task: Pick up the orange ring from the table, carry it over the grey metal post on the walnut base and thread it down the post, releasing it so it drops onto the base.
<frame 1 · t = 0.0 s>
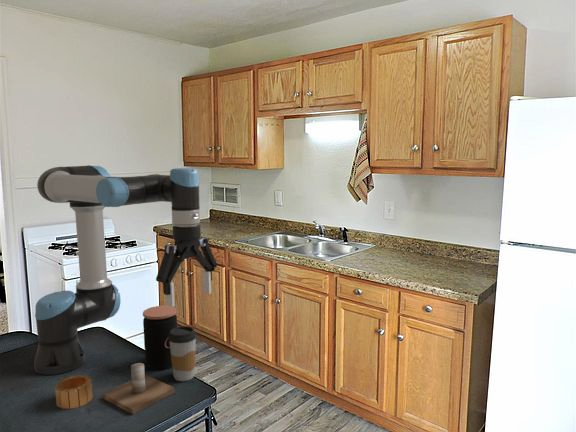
hand: (189, 299, 130), 28 cm above the table, fingers open, 13 cm apart
post block: (139, 395, 132), on the table
coffee cup: (184, 377, 143), on the table
coffee jar: (162, 363, 152), on the table
orange ring: (74, 399, 130), on the table
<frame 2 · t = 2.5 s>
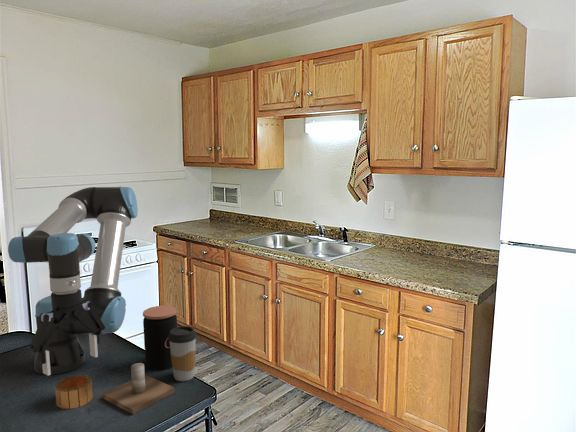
hand: (71, 364, 128), 11 cm above the table, fingers open, 13 cm apart
nothing on the table moved.
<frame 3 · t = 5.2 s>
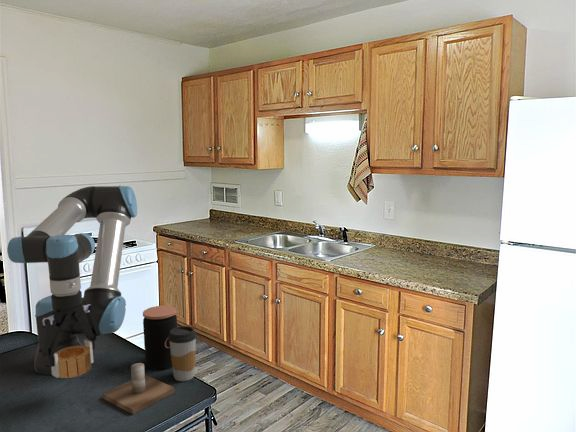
hand: (73, 368, 129), 9 cm above the table, fingers closed on orange ring, 9 cm apart
orange ring: (73, 369, 129), point 9 cm above the table, touching gripper
everything else where it was.
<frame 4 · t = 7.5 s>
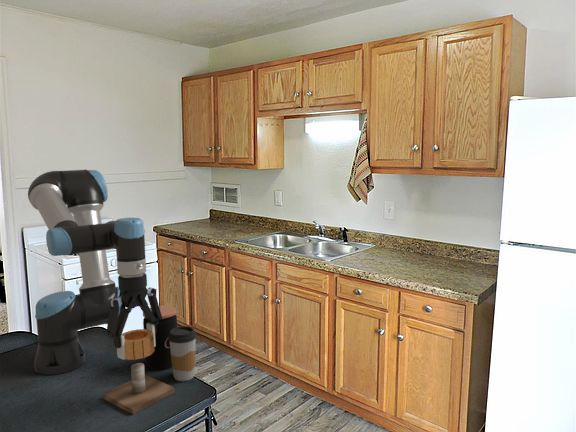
hand: (137, 351, 130), 13 cm above the table, fingers closed on orange ring, 9 cm apart
orange ring: (137, 352, 130), point 13 cm above the table, touching gripper
everything else where it was.
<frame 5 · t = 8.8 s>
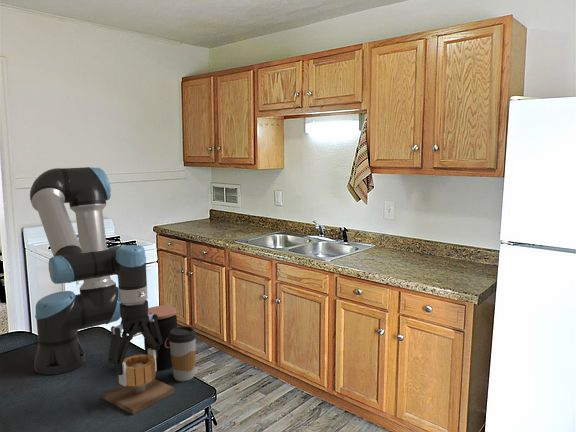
hand: (138, 377, 131), 6 cm above the table, fingers closed on orange ring, 9 cm apart
orange ring: (138, 378, 131), point 5 cm above the table, touching gripper
everything else where it was.
when the fingers open (2 cm above the table, at t = 10.0 s): orange ring stays where it is, resting on post block.
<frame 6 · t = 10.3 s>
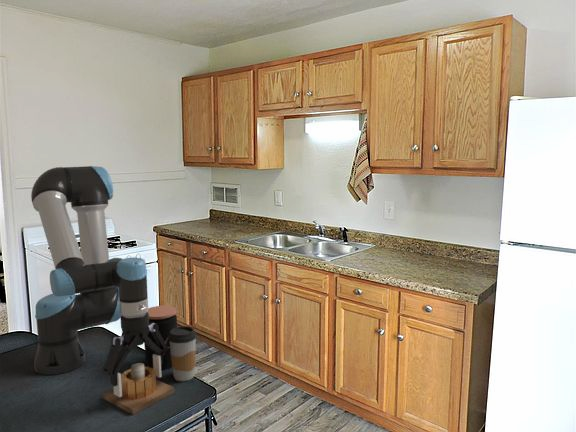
hand: (138, 385, 131), 3 cm above the table, fingers open, 13 cm apart
orange ring: (139, 390, 132), point 1 cm above the table, touching post block
everything else where it was.
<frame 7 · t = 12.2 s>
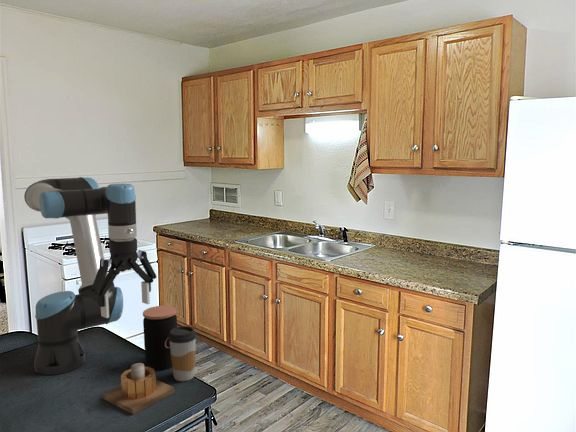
hand: (126, 309, 134), 24 cm above the table, fingers open, 13 cm apart
nothing on the table moved.
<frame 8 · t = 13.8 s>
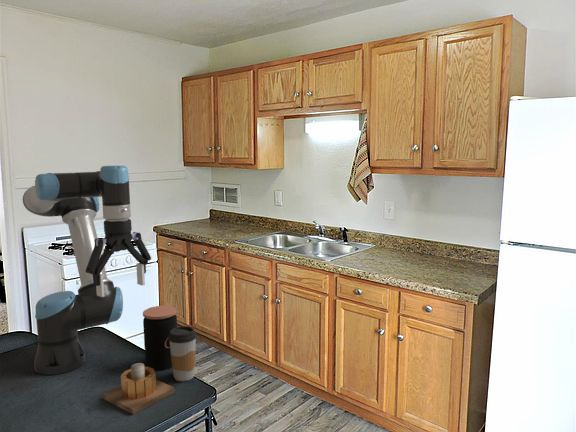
hand: (121, 290, 136), 29 cm above the table, fingers open, 13 cm apart
nothing on the table moved.
at the end: orange ring 0.0 cm off-centre on the post block, point 1.5 cm above the post block's base; the gripper is holding nothing; orange ring tilted 0° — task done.
